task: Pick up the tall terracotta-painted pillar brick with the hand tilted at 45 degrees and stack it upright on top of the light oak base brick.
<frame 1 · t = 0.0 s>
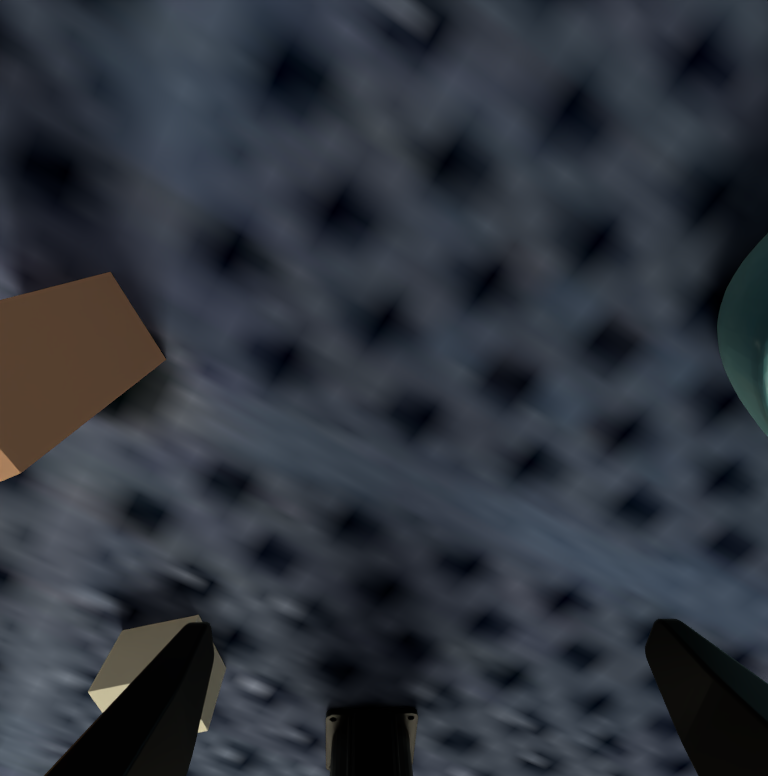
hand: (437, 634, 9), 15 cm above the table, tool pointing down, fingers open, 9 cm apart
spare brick: (176, 647, 29), on the table
pillar brick: (97, 335, 21), on the table
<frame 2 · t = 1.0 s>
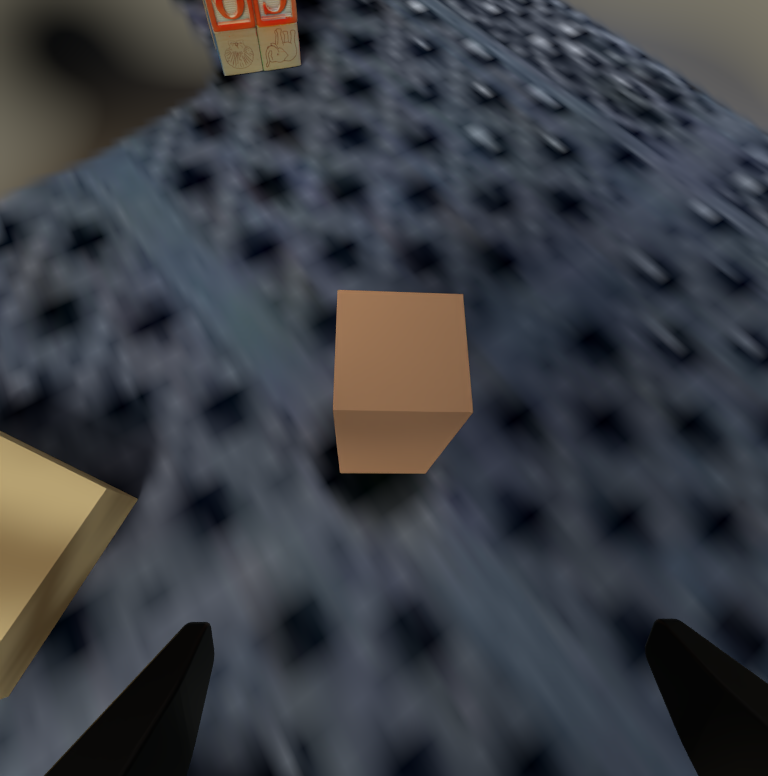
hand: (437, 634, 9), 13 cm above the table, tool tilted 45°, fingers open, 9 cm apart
base brick: (2, 547, 21), on the table
pillar brick: (382, 432, 24), on the table
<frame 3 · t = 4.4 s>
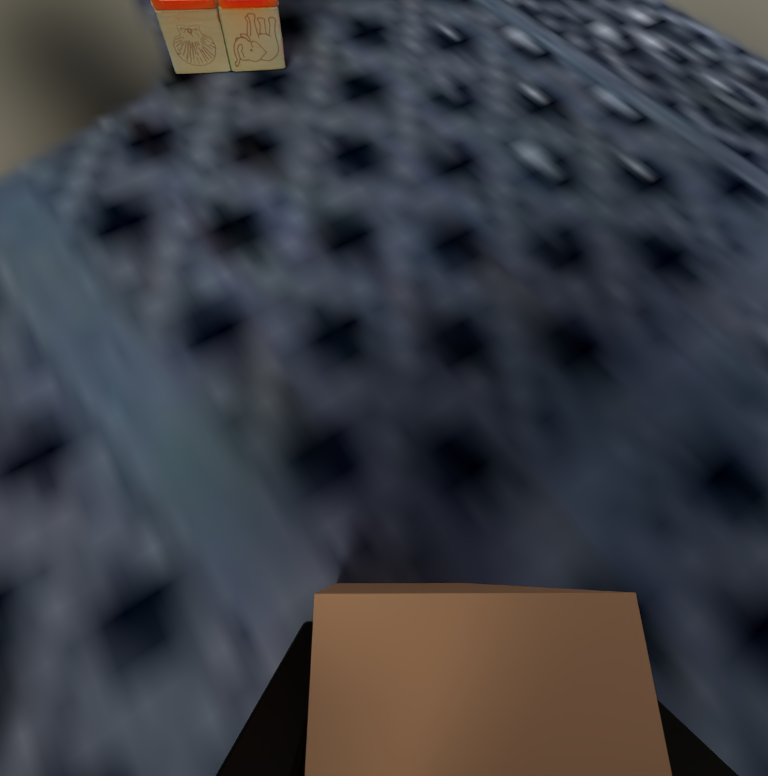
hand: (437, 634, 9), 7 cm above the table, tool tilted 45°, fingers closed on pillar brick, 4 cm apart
pillar brick: (403, 658, 14), on the table, touching gripper
when the fingers open (11 cm above the table, at t = 8.6 s): pillar brick drops 1 cm, resting on base brick.
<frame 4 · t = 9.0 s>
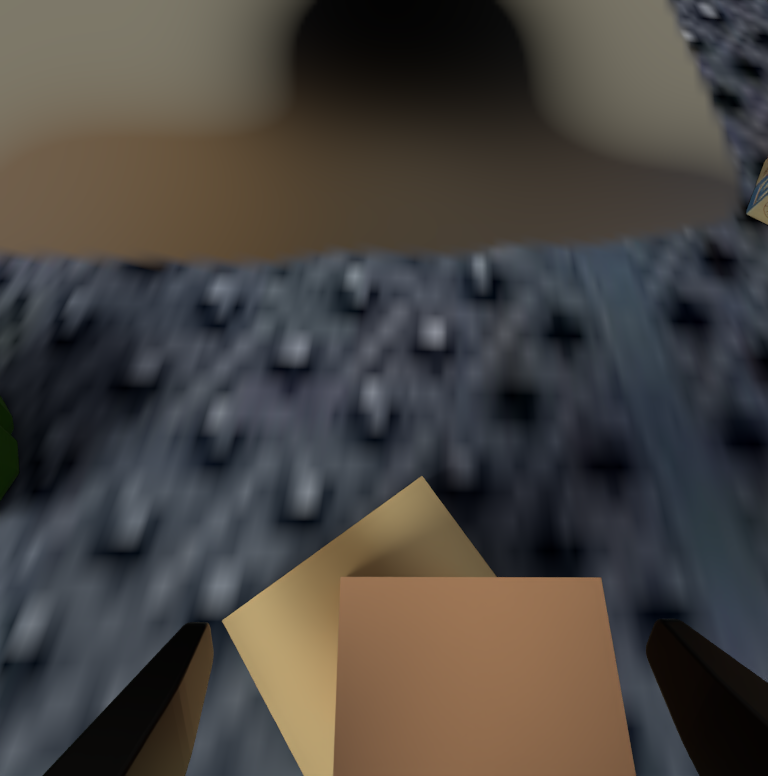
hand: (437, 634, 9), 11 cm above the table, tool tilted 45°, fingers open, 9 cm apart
base brick: (390, 639, 19), on the table, touching pillar brick
pillar brick: (404, 648, 16), point 3 cm above the table, touching base brick
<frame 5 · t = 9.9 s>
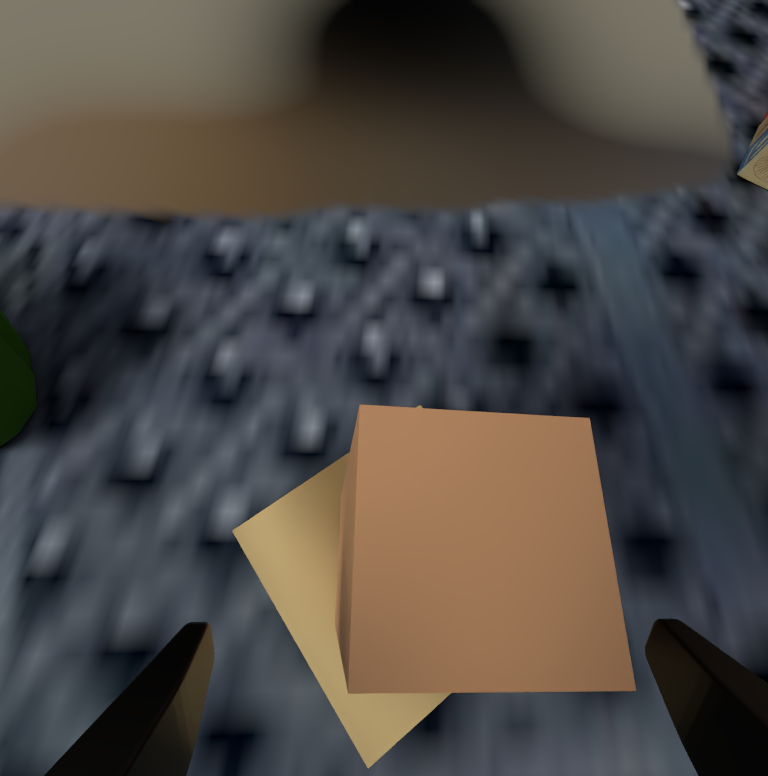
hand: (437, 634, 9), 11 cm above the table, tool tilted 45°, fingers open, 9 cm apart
base brick: (390, 561, 20), on the table, touching pillar brick
pillar brick: (398, 556, 17), point 3 cm above the table, touching base brick
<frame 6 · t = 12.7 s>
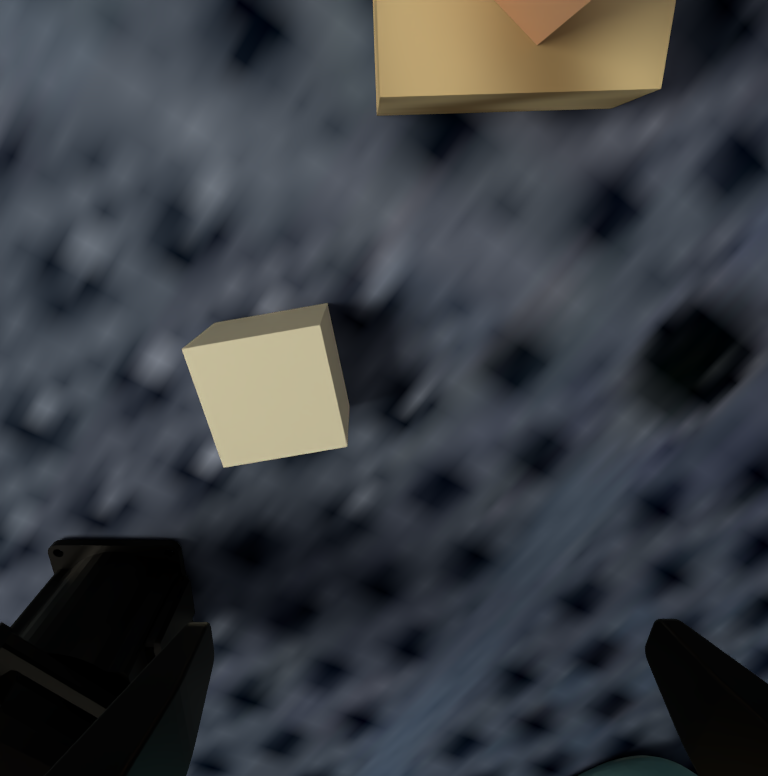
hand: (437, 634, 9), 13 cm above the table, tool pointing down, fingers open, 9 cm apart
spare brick: (285, 365, 20), on the table
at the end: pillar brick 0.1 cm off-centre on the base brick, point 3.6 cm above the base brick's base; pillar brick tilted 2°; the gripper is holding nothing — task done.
